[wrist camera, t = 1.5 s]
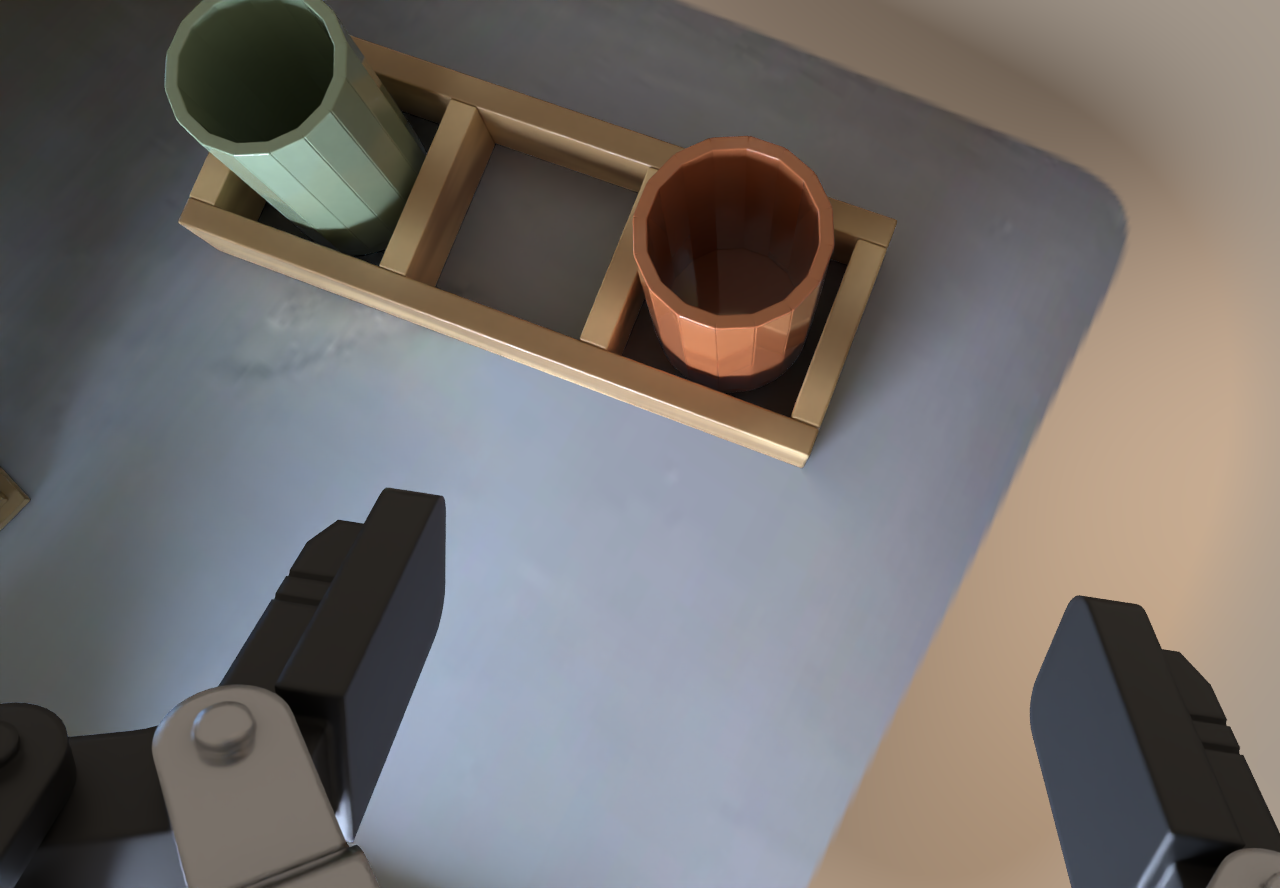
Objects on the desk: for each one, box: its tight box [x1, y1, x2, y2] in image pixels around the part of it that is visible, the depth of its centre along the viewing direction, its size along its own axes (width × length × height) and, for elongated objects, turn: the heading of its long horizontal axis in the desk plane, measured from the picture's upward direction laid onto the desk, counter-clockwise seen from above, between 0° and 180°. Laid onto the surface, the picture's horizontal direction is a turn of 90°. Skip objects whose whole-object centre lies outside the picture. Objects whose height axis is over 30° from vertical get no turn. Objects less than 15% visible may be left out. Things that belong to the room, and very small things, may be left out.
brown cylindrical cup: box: [633, 136, 835, 393], centre depth 33 cm, size 5×5×9 cm
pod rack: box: [179, 35, 897, 468], centre depth 37 cm, size 8×23×3 cm, turn 69°
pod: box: [165, 0, 427, 255], centre depth 35 cm, size 5×5×9 cm
